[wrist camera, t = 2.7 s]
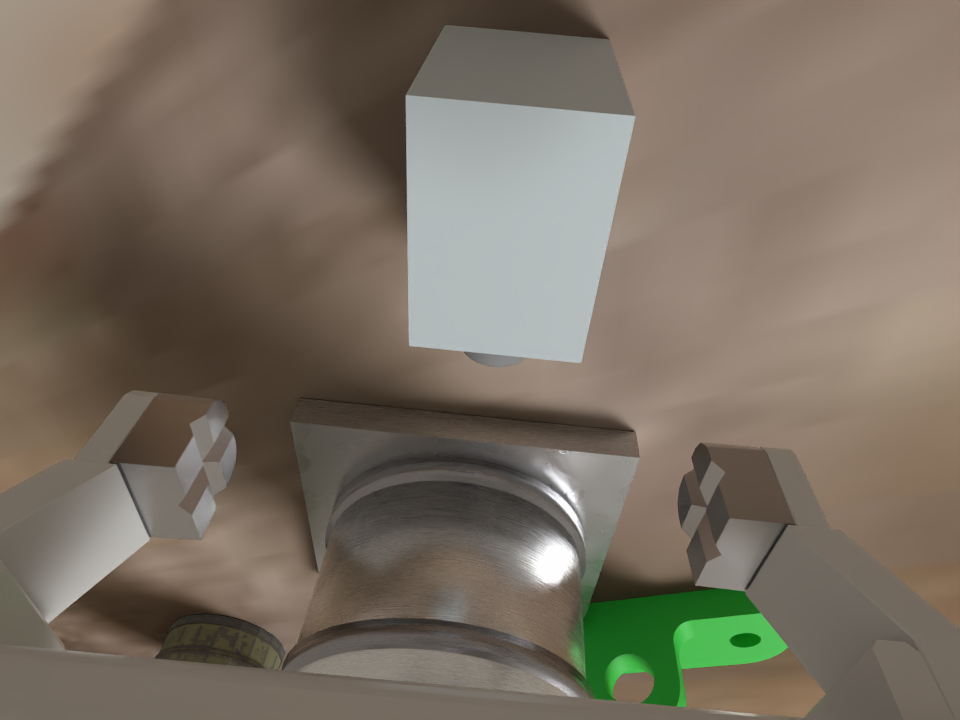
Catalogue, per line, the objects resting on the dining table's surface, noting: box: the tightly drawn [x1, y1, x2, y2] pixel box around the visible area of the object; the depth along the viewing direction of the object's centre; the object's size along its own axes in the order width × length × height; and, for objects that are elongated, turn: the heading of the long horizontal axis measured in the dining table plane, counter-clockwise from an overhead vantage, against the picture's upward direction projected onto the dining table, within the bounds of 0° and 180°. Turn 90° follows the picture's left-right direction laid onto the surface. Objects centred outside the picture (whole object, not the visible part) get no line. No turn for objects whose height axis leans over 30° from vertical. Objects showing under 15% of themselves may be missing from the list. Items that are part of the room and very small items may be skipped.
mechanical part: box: [583, 588, 788, 707], centre depth 37 cm, size 12×6×8 cm, turn 111°
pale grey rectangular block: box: [406, 25, 635, 367], centre depth 19 cm, size 5×9×7 cm, turn 176°
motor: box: [282, 398, 640, 699], centre depth 27 cm, size 16×16×19 cm
